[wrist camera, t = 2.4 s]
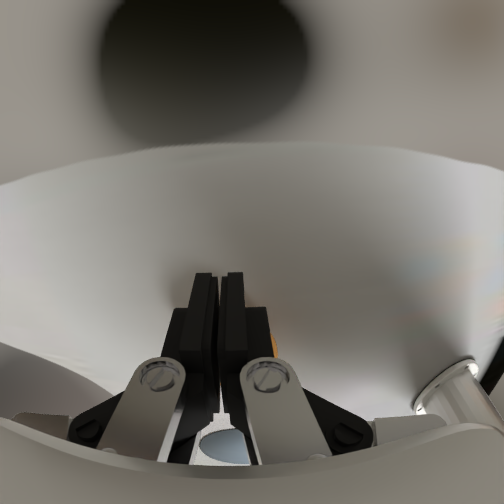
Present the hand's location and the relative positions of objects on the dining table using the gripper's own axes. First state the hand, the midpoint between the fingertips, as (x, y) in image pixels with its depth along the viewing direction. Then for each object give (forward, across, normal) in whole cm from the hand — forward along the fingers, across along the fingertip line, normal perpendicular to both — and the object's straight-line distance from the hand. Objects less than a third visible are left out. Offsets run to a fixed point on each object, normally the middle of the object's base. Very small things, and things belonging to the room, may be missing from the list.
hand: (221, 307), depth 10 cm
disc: (+10, -1, +34) cm, 35 cm away
